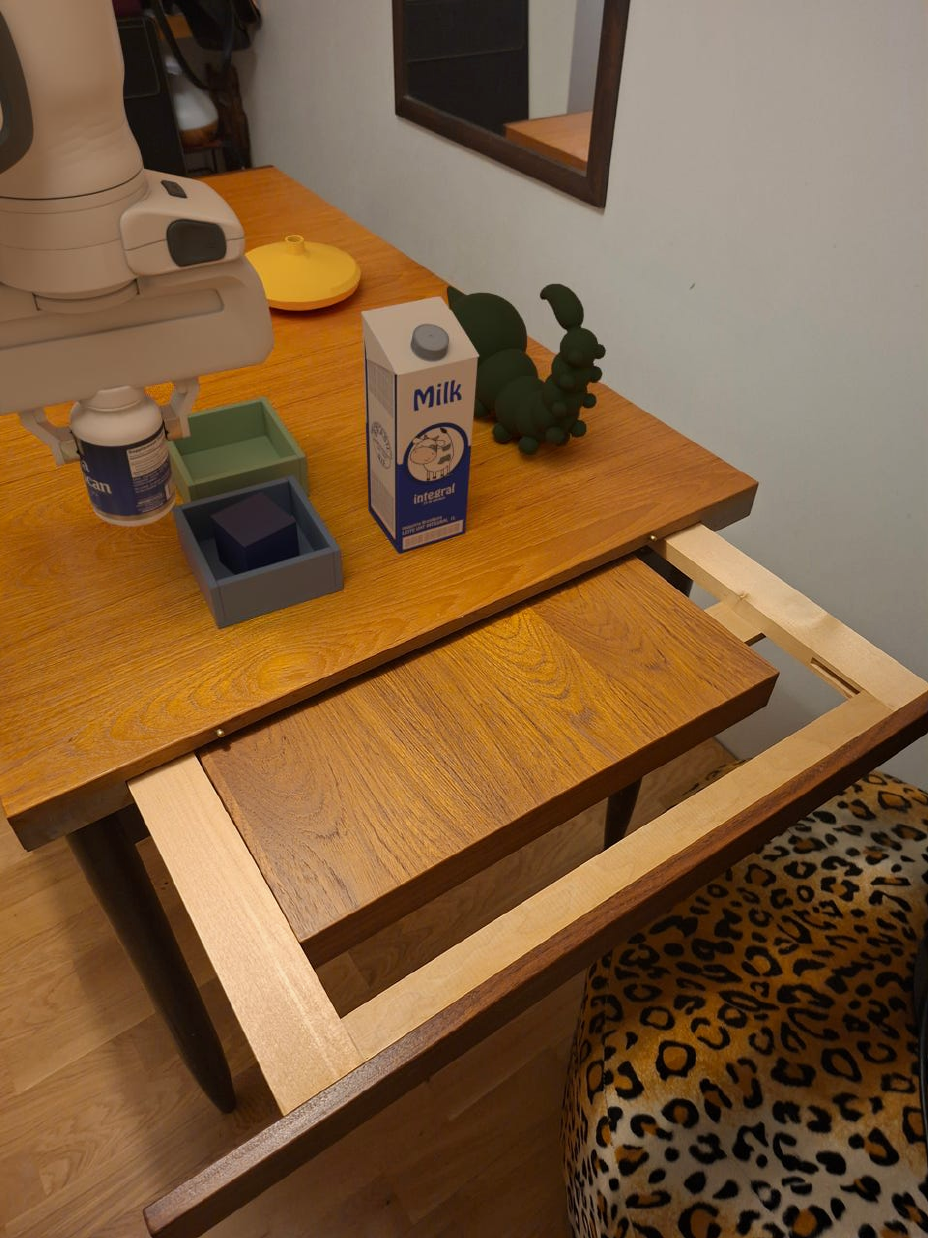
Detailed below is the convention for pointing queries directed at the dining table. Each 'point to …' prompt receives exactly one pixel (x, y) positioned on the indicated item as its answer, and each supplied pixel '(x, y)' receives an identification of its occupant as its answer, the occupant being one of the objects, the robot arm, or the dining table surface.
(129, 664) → the dining table surface
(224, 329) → the robot arm
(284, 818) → the dining table surface
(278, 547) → the navy block
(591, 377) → the toy figurine
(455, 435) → the milk carton
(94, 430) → the pill bottle
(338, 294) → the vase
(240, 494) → the blue bin
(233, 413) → the green bin
